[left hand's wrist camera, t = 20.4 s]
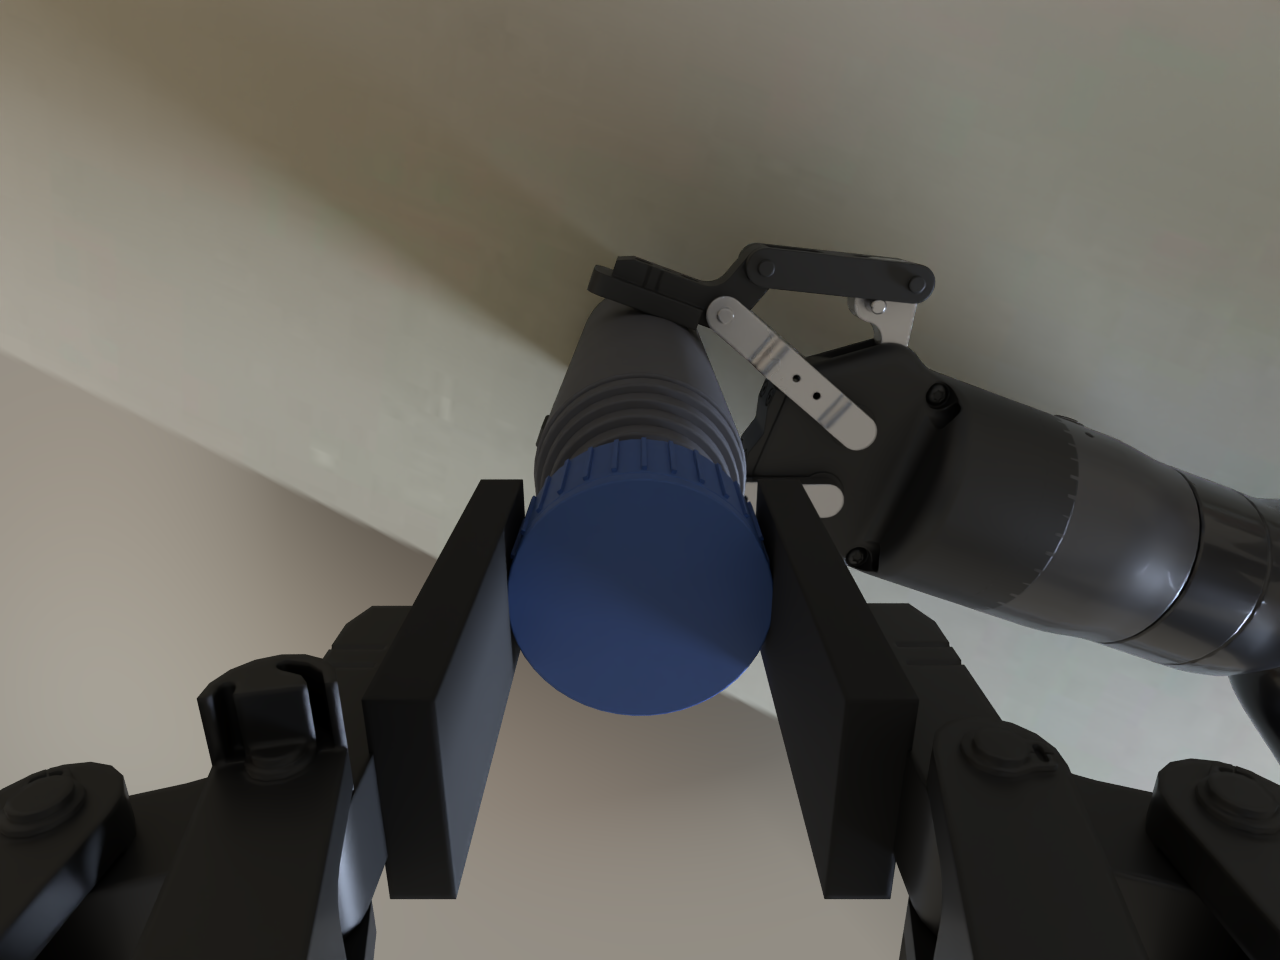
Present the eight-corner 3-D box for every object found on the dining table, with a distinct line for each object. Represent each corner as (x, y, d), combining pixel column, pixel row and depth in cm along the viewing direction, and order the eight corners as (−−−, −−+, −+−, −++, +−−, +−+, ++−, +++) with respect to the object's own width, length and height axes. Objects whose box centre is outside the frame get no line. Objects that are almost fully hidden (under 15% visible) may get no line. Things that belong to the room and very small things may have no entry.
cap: (808, 557, 15) (834, 614, 13) (631, 692, 16) (630, 763, 14) (650, 384, 14) (652, 417, 12) (471, 541, 15) (445, 595, 13)
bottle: (721, 359, 33) (839, 609, 14) (627, 425, 34) (610, 746, 15) (653, 262, 32) (675, 382, 12) (558, 333, 33) (435, 551, 13)
